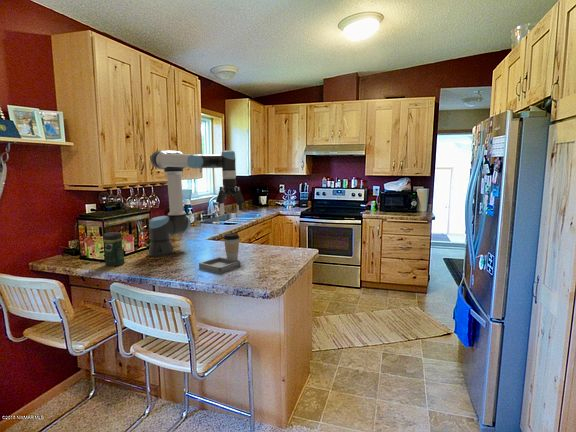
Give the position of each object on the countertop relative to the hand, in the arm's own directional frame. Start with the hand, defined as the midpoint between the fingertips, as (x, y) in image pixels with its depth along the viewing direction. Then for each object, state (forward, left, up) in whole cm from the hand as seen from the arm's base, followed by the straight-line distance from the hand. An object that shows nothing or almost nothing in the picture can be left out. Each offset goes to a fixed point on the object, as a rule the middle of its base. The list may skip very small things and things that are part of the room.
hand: (230, 215), depth 199 cm
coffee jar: (-50, -43, -27) cm, 71 cm away
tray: (+5, -15, -26) cm, 31 cm away
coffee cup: (0, 0, -27) cm, 27 cm away
